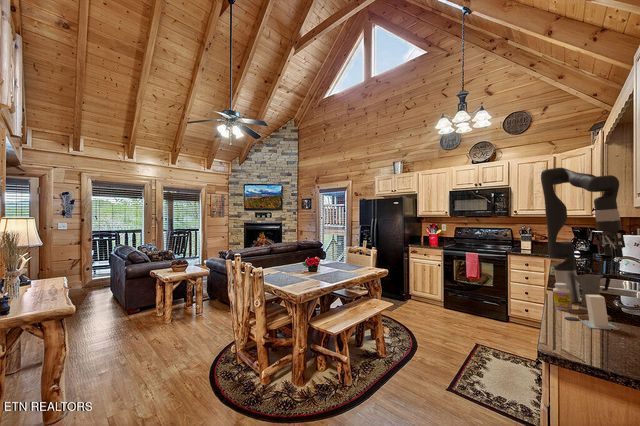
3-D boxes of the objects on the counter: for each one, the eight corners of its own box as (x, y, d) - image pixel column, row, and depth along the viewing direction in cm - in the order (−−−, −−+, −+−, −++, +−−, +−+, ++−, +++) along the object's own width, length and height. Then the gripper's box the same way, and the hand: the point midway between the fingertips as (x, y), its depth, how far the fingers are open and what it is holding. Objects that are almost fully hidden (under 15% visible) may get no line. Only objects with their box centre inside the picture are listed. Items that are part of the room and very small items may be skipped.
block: (589, 322, 119) (585, 294, 120) (603, 323, 117) (598, 294, 118) (594, 325, 115) (590, 297, 116) (608, 326, 113) (604, 297, 114)
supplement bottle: (557, 310, 139) (553, 284, 140) (553, 306, 145) (550, 282, 146) (574, 311, 136) (570, 285, 137) (570, 307, 142) (566, 282, 143)
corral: (569, 312, 135) (569, 308, 135) (598, 313, 131) (598, 309, 131) (579, 318, 125) (578, 315, 125) (611, 320, 121) (611, 316, 121)
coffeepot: (581, 307, 141) (576, 272, 143) (572, 302, 150) (567, 269, 151) (620, 307, 136) (614, 271, 137) (608, 303, 145) (603, 268, 146)
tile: (580, 321, 122) (580, 320, 122) (607, 322, 118) (607, 321, 118) (590, 328, 114) (589, 327, 114) (619, 329, 110) (619, 328, 110)
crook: (580, 311, 135) (579, 308, 135) (574, 308, 140) (574, 305, 140) (601, 312, 132) (600, 309, 132) (595, 309, 137) (594, 306, 137)
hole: (562, 317, 129) (562, 316, 129) (576, 317, 127) (576, 317, 127) (567, 320, 124) (567, 319, 124) (581, 321, 122) (581, 320, 122)
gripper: (589, 221, 130) (594, 255, 128) (605, 220, 117) (611, 258, 115) (610, 219, 127) (616, 254, 125) (629, 218, 114) (635, 258, 112)
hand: (613, 256), depth 120 cm, fingers open, 8 cm apart
